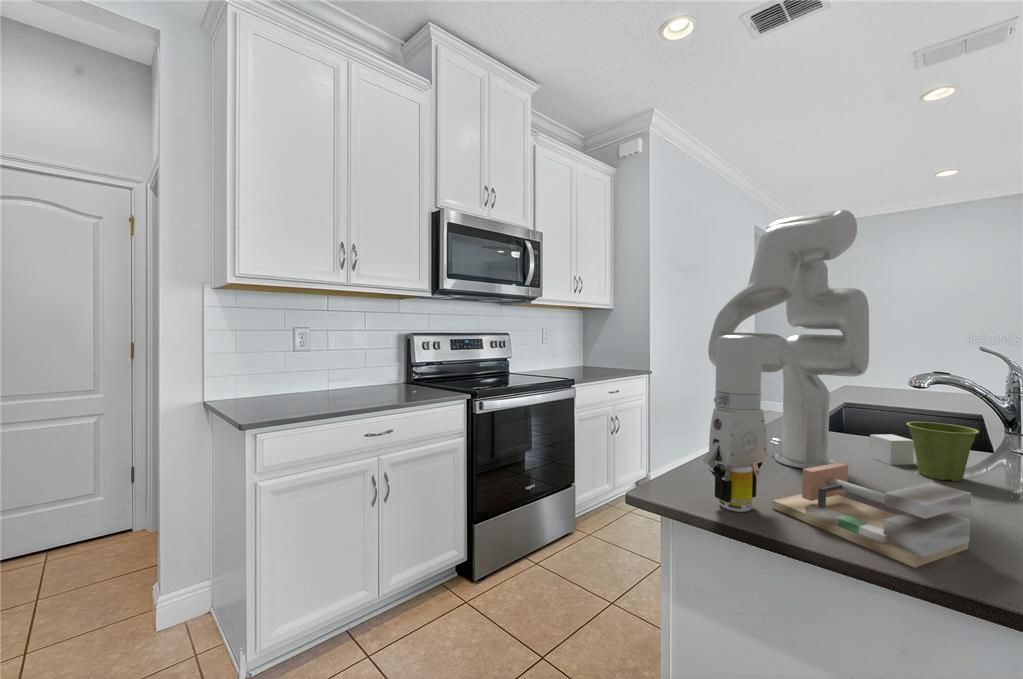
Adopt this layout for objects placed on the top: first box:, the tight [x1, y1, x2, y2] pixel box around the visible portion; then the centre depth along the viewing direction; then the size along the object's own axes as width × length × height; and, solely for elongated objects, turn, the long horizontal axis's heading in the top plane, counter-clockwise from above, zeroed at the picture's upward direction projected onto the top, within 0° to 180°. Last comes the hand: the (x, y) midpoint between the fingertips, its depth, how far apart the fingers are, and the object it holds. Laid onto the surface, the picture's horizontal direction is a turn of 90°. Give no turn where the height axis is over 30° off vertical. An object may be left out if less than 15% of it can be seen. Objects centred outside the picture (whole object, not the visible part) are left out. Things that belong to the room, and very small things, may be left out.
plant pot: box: [906, 421, 980, 482], centre depth 101 cm, size 12×12×11 cm
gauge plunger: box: [801, 462, 885, 508], centre depth 75 cm, size 15×11×5 cm
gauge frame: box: [771, 481, 972, 569], centre depth 76 cm, size 22×14×9 cm, turn 22°
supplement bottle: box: [718, 464, 753, 513], centre depth 84 cm, size 6×6×10 cm
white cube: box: [868, 433, 915, 466], centre depth 113 cm, size 6×6×6 cm
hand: (735, 496), depth 84 cm, fingers closed on supplement bottle, 5 cm apart
